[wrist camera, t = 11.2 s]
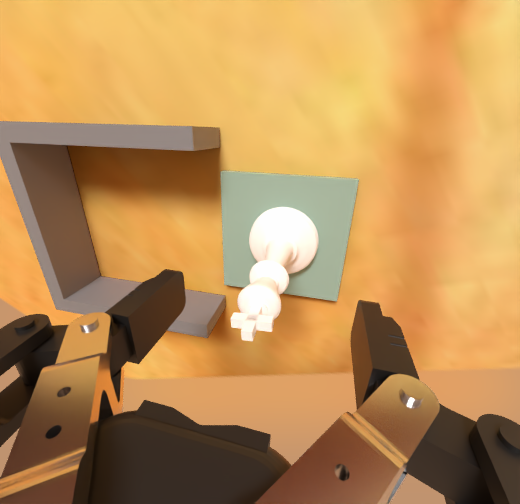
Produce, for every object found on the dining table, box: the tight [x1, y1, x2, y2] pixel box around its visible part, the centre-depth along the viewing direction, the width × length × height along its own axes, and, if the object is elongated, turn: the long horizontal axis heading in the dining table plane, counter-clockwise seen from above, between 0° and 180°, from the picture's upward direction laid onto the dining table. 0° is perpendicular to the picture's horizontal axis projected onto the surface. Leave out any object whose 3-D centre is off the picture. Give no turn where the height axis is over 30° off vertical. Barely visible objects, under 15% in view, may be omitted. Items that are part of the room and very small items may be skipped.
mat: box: [220, 171, 359, 301], centre depth 19 cm, size 9×9×1 cm
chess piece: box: [231, 207, 319, 341], centre depth 14 cm, size 5×5×10 cm
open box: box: [0, 121, 226, 338], centre depth 20 cm, size 14×14×4 cm
